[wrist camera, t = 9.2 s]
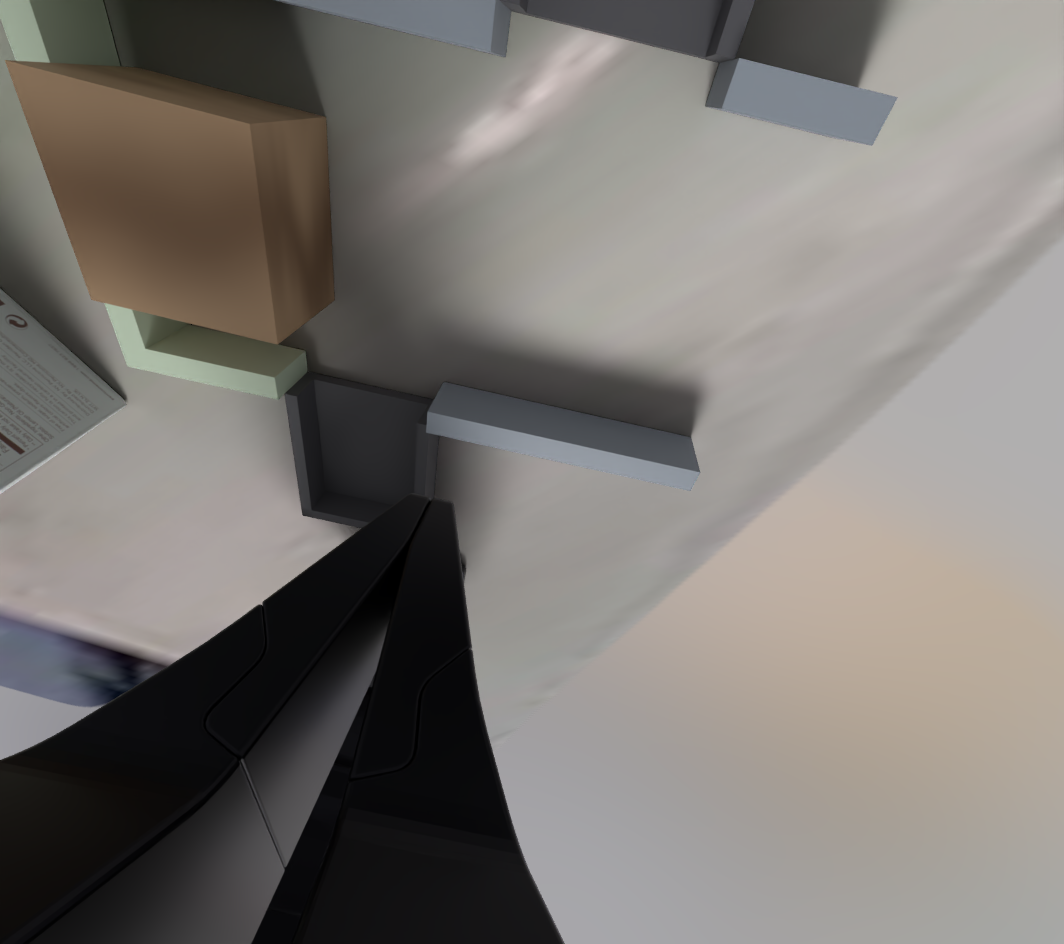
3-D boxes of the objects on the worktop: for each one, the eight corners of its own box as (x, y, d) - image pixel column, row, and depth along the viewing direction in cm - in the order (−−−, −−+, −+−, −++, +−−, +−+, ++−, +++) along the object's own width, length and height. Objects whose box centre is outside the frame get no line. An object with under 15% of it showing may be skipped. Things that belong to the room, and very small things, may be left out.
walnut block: (336, 298, 19) (278, 344, 16) (185, 261, 19) (91, 299, 16) (328, 116, 16) (249, 124, 12) (141, 67, 15) (5, 60, 12)
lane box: (633, 557, 26) (635, 594, 24) (207, 465, 26) (174, 496, 24) (1070, -349, 10) (1192, -464, 8) (-131, -687, 9) (-339, -908, 7)
